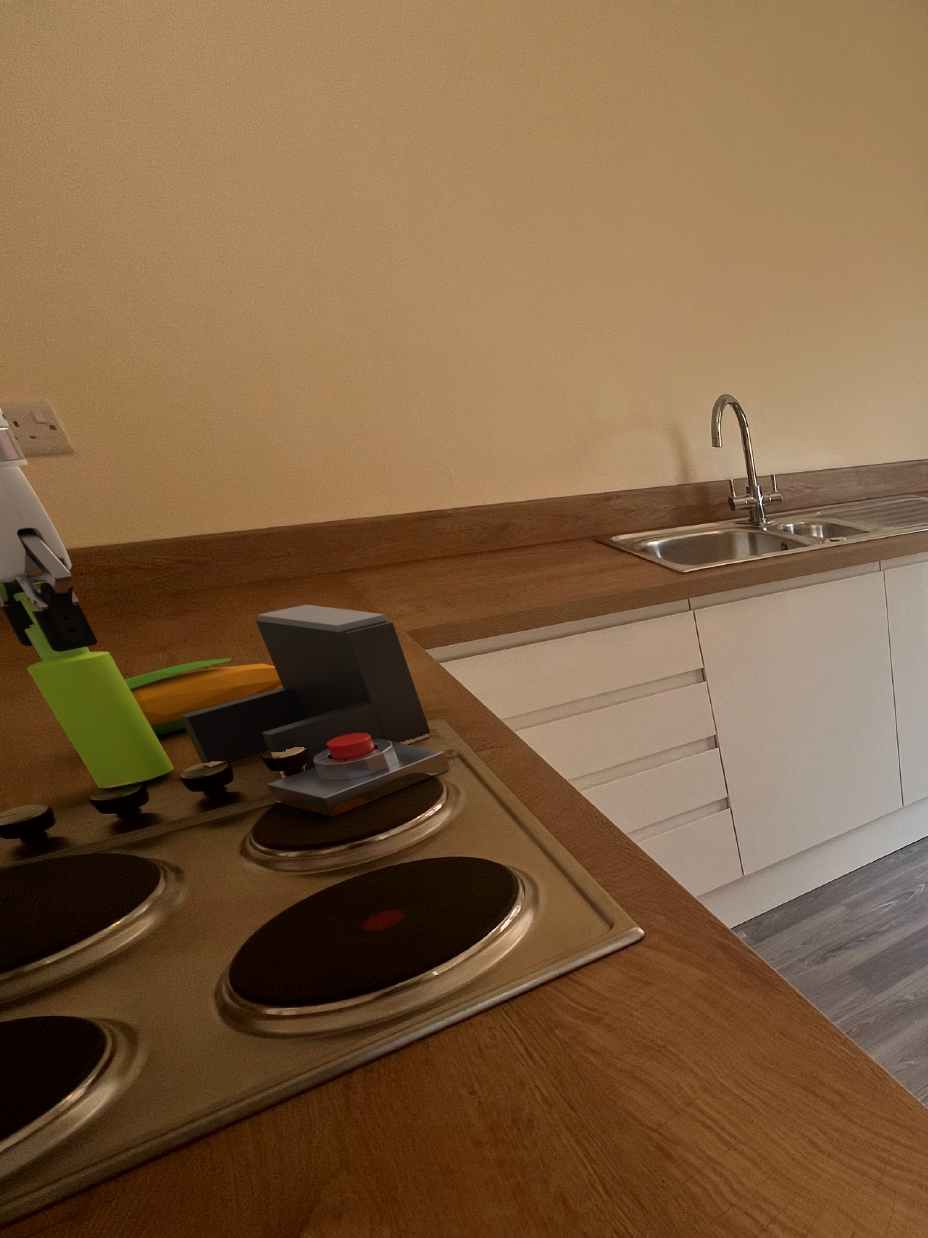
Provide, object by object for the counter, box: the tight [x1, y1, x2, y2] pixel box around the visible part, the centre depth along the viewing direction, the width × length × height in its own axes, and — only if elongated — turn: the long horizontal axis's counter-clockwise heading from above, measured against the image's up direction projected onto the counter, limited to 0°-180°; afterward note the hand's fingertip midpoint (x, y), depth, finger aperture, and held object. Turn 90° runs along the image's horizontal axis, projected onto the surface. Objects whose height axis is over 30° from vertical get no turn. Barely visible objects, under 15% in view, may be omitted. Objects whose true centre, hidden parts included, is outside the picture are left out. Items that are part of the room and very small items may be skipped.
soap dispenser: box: [13, 589, 175, 789], centre depth 86 cm, size 6×7×20 cm
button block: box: [267, 739, 451, 806], centre depth 87 cm, size 12×9×4 cm
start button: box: [327, 733, 376, 760], centre depth 86 cm, size 4×4×2 cm
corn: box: [124, 657, 282, 736], centre depth 105 cm, size 7×8×20 cm
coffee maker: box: [180, 604, 431, 770], centre depth 94 cm, size 15×16×15 cm
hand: (59, 643), depth 84 cm, fingers closed on soap dispenser, 5 cm apart
